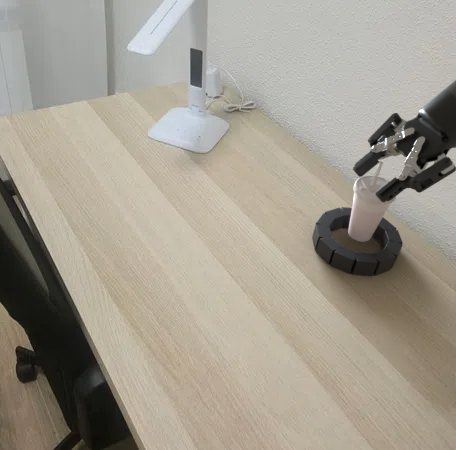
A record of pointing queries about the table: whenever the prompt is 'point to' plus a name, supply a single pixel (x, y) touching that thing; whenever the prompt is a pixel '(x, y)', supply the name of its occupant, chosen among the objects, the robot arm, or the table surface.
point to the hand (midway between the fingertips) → (367, 185)
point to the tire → (349, 258)
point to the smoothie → (367, 206)
